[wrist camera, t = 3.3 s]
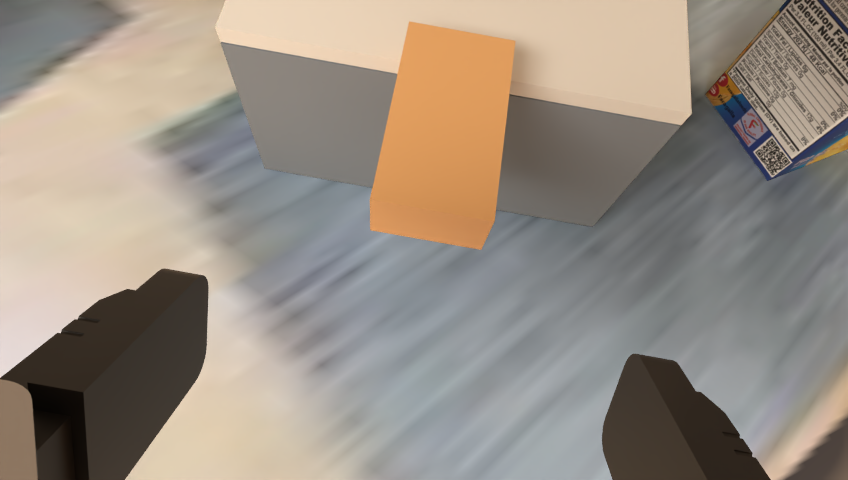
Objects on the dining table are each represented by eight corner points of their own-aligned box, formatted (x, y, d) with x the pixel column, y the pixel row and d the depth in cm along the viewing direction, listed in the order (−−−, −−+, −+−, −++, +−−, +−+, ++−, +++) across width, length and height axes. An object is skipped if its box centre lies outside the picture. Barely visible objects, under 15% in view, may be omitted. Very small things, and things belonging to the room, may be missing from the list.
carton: (264, 168, 32) (220, 43, 23) (327, -33, 38) (312, -194, 29) (592, 226, 32) (680, 126, 23) (600, 18, 38) (671, -126, 29)
